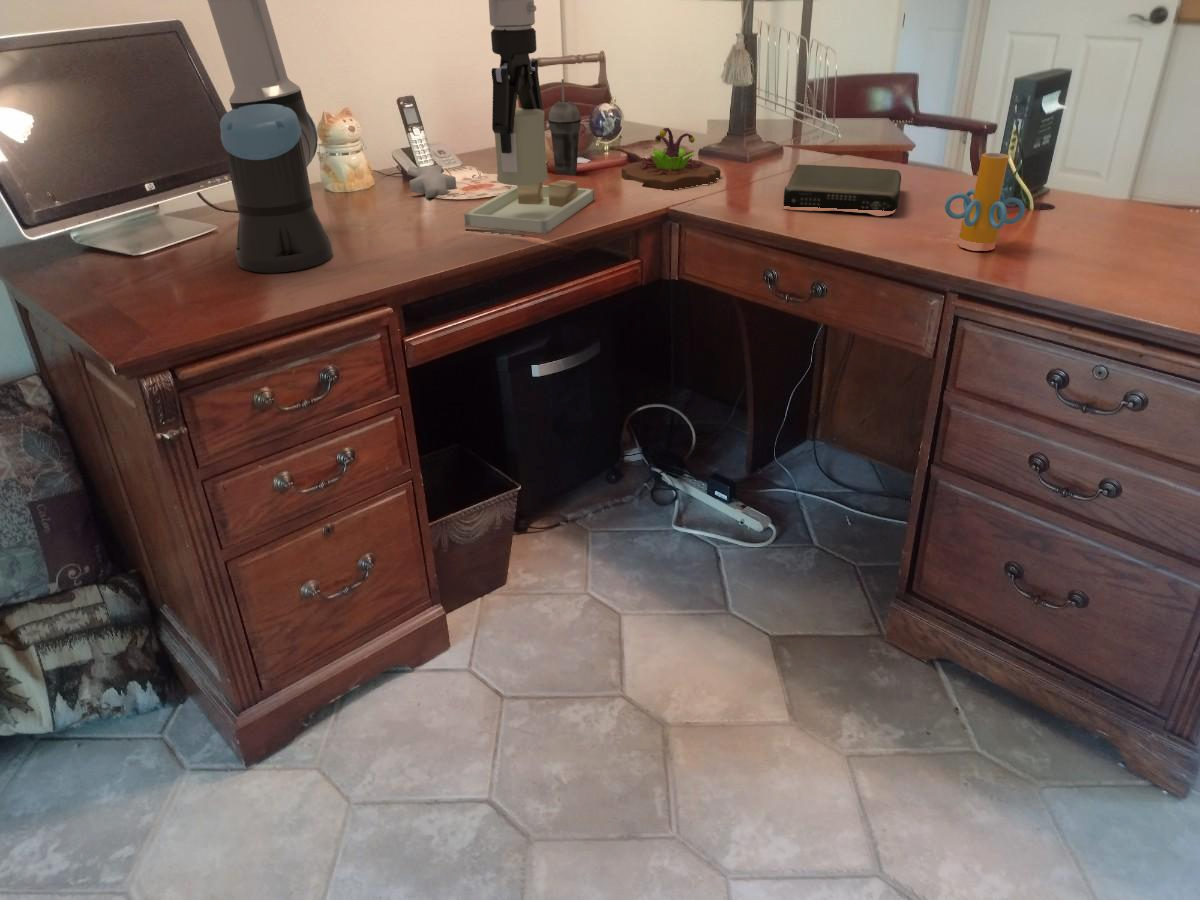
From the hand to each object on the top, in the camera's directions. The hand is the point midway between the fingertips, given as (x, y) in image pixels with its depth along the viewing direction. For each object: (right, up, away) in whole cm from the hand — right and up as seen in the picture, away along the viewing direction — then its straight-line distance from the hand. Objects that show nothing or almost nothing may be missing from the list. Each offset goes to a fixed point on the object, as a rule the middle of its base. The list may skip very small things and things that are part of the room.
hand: (521, 165), depth 158 cm
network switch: (+62, -2, +16) cm, 65 cm away
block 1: (+1, -2, +15) cm, 15 cm away
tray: (+1, -7, +8) cm, 11 cm away
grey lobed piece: (-21, +3, +27) cm, 34 cm away
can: (0, -2, +1) cm, 3 cm away
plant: (+29, +8, +34) cm, 46 cm away
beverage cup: (+7, +10, +38) cm, 40 cm away
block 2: (+7, -3, +12) cm, 15 cm away
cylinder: (+78, -17, -11) cm, 80 cm away
